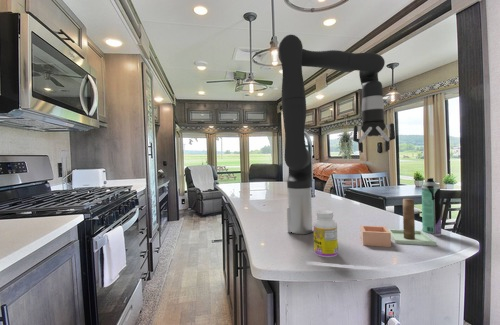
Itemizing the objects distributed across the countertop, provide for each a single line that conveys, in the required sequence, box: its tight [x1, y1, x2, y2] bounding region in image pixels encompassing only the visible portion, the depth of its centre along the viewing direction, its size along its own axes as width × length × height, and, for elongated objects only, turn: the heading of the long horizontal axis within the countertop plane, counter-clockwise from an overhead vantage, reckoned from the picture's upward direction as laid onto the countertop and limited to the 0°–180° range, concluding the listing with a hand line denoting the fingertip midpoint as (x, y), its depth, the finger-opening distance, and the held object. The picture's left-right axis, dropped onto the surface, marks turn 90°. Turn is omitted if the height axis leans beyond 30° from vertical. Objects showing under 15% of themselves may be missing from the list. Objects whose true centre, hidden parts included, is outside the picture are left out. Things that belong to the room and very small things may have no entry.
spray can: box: [421, 177, 442, 237], centre depth 92 cm, size 6×6×20 cm
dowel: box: [402, 198, 416, 240], centre depth 85 cm, size 3×3×13 cm
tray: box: [387, 228, 437, 247], centre depth 85 cm, size 11×13×2 cm
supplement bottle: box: [312, 209, 339, 258], centre depth 75 cm, size 7×7×13 cm
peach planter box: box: [359, 224, 392, 248], centre depth 83 cm, size 8×8×5 cm
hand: (373, 152), depth 98 cm, fingers open, 8 cm apart
